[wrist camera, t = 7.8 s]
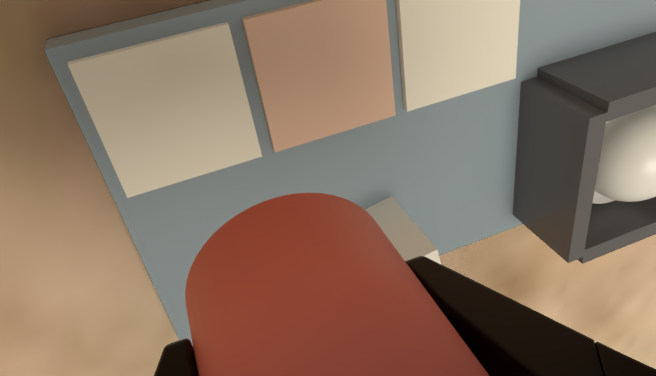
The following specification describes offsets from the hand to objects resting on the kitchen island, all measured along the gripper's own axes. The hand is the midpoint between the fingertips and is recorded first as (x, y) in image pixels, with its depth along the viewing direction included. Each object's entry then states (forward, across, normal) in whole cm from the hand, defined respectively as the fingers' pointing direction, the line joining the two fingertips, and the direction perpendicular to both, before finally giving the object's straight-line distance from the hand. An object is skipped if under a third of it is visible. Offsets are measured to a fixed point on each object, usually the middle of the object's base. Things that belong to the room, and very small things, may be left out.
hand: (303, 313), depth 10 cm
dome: (+10, -17, +6) cm, 21 cm away
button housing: (+11, -17, +6) cm, 21 cm away
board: (+12, -9, +4) cm, 15 cm away
